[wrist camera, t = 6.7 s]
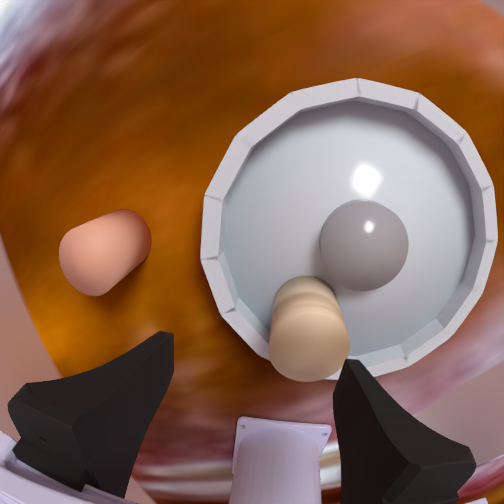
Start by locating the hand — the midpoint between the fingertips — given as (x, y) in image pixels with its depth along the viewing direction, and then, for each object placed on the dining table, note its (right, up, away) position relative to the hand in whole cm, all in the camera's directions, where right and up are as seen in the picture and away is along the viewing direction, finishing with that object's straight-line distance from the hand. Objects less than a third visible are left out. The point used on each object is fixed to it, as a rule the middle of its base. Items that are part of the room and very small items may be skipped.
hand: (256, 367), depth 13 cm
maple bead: (+3, +1, +7) cm, 8 cm away
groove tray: (+6, +6, +6) cm, 11 cm away
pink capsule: (-9, +6, +8) cm, 13 cm away
